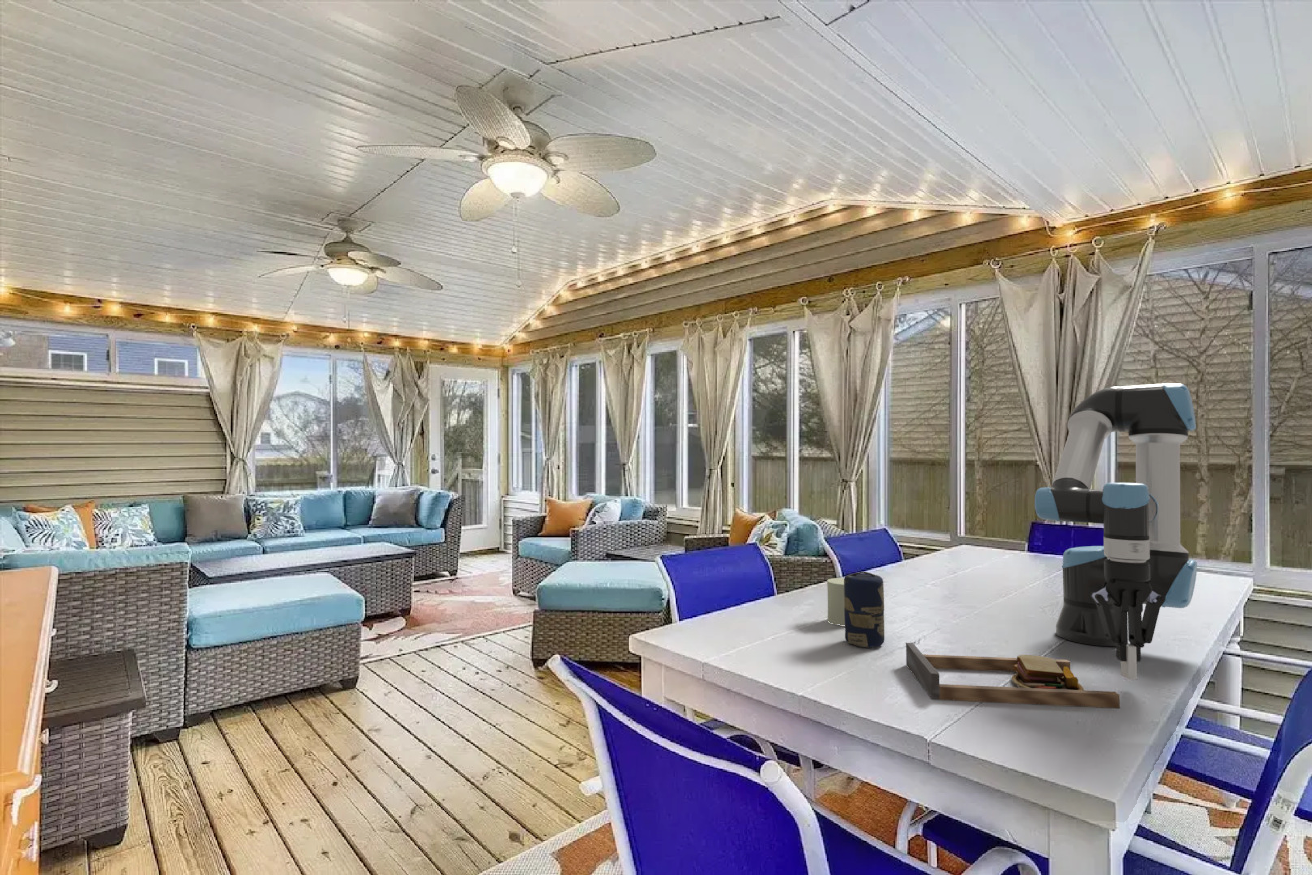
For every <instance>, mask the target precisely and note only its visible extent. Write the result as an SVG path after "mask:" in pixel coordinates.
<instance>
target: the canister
mask: <svg viewBox="0 0 1312 875" xmlns="http://www.w3.org/2000/svg"><path fill="white" fill-rule="evenodd" d="M843 578H844V603H845V608H844V615H845V627H844V638H845V641H846V642H847V643H848V644H850V645H854V646H857V647H861V648H875V647H881V646H882V645H883V644H884V643H885V594H884V592H885V590H884V589H885V588H884V579H883V578H882V577H881V576H880V575H877V574H873V573H870V572H867V571H858V572H854V573H850V574H847V575H845V576H844V577H843Z"/></svg>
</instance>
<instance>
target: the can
mask: <svg viewBox="0 0 1312 875" xmlns="http://www.w3.org/2000/svg"><path fill="white" fill-rule="evenodd" d="M844 578H845V577H832V578H829V579H827V580H826V582H827V584H826V585H827V587H826V588H827V620H828V621H829V622H830V623H833V624H840V625H845V615H844V608H845V603H844ZM830 623H829V624H830Z"/></svg>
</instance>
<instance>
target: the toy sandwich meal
mask: <svg viewBox="0 0 1312 875" xmlns="http://www.w3.org/2000/svg"><path fill="white" fill-rule="evenodd" d="M1016 658H1017V661H1018V664H1016V665H1014V670H1015V671H1017V672H1016V673H1014V674H1013V675H1012V676H1011V681H1012V682H1013V683H1014V684H1015V686H1017V687H1018V688H1041V689H1064V690H1085V689H1084V687H1083V685H1081V684H1080V683H1079V679H1078V677H1077V676H1075V675H1074V673H1073V672H1072V670H1071V668H1070V669H1069V668H1068V667H1064V668H1063V671H1062V670H1061V668H1060V667H1059V666H1058V665H1057V663H1056V662H1057V661H1056V660H1055V659H1054V658H1051V657H1046V656H1041V655H1034V654H1021V655H1017V656H1016Z"/></svg>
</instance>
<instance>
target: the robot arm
mask: <svg viewBox="0 0 1312 875" xmlns="http://www.w3.org/2000/svg"><path fill="white" fill-rule="evenodd" d="M1196 424H1197V422H1196V414H1195V409H1194V404H1193V400H1192V395H1191V393H1190V389H1189V388H1188V386H1187V385H1185V384H1183V383H1164V382H1162V383H1154V384H1138V385H1137V384H1136V385H1126V386H1125V385H1123V386H1119V385H1117V386H1110V387H1106V388H1102V389H1100V390H1098V391H1095V392H1094V393H1092V394H1090V395H1089V396H1088V397H1086V398H1084V399H1083V400H1082V401H1080V403H1078V405H1077V406H1075V408H1074V409H1073V411H1072V412H1071V413H1070V416H1069V418H1068V421H1067V430H1068V435H1067V439H1066V442H1065V445H1064V448H1063V451H1062V452H1061V453H1062V454H1061V457H1060V459H1059V463H1058V465H1057V468H1056V471H1055V474H1054V477H1053V481H1052V483H1051V486H1046V487H1039V488H1038V489H1037V490H1036V491H1035V495H1034V510H1035V514H1036V515H1037V517H1038V518H1039V519H1041V520H1047V521H1055V522H1069V523H1088V524H1089V523H1090V524H1102V525H1103V545H1091V546H1089V545H1088V546H1075V547H1071V548H1068V549H1066V550H1064V552H1063V554H1062V555H1063V556H1062V565H1061V568H1062V586H1063V587H1062V589H1063V592H1062V593H1063V594H1062V595H1063V605H1062V607H1061V608H1062V609H1061V611H1060V613H1059V616H1058V619H1057V621H1056V625H1055V630H1056V631H1055V634H1056V635H1057V636H1058V637H1060V638H1062V639H1063V640H1067V641H1071V642H1075V643H1077V644H1084V645H1090V646H1099V647H1115V657H1116V659H1117V660H1118V661H1120V675H1121V676H1123V677H1124V678H1125V679H1127V680H1131V681H1132V680H1133V681H1137V680H1138V671H1137V670H1138V669H1137V668H1138V667H1137V666H1138V665H1137V662H1139V663H1140V662H1141V660H1142V657H1141V656H1142V655H1141V654H1142V653H1141V652H1142V651H1141V648H1144V647H1145V644H1151V643H1152V642H1153V638H1154V634H1155V630H1156V626H1157V623H1158V622H1157V621H1158V617H1159V613H1160V610H1161V608H1174V609H1184V608H1187V607H1189V605H1190V604H1191V601H1192V599H1193V595H1194V591H1195V586H1196V580H1197V573H1198V572H1197V571H1198V569H1197V568H1198V563H1197V561H1196V560H1194V559H1193V558H1189V554H1190V553H1189V551H1188V550H1187V549H1186V548H1185V547H1184V546H1183V545H1182V544H1181V444H1183V443H1184V442H1185V441H1187V439H1189V432H1193V431H1195V430H1196V429H1197V425H1196ZM1115 432H1120V433H1121V432H1125V433H1126V432H1128V439H1129V440H1130V441H1131V442H1133V443H1134V445H1135V482H1107V483H1105V484H1104V485H1103V489H1101V488H1100V489H1099V488H1097V489H1095V488H1092V484H1093V481H1094V478H1095V474H1096V470H1097V467H1098V464H1099V460H1100V456H1101V452H1102V449H1103V445H1104V442H1105V440H1106V439H1107V438H1108V437H1109V436H1110V435H1111V433H1115ZM1144 605H1145V606H1144ZM1142 613H1143V616H1142Z"/></svg>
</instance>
